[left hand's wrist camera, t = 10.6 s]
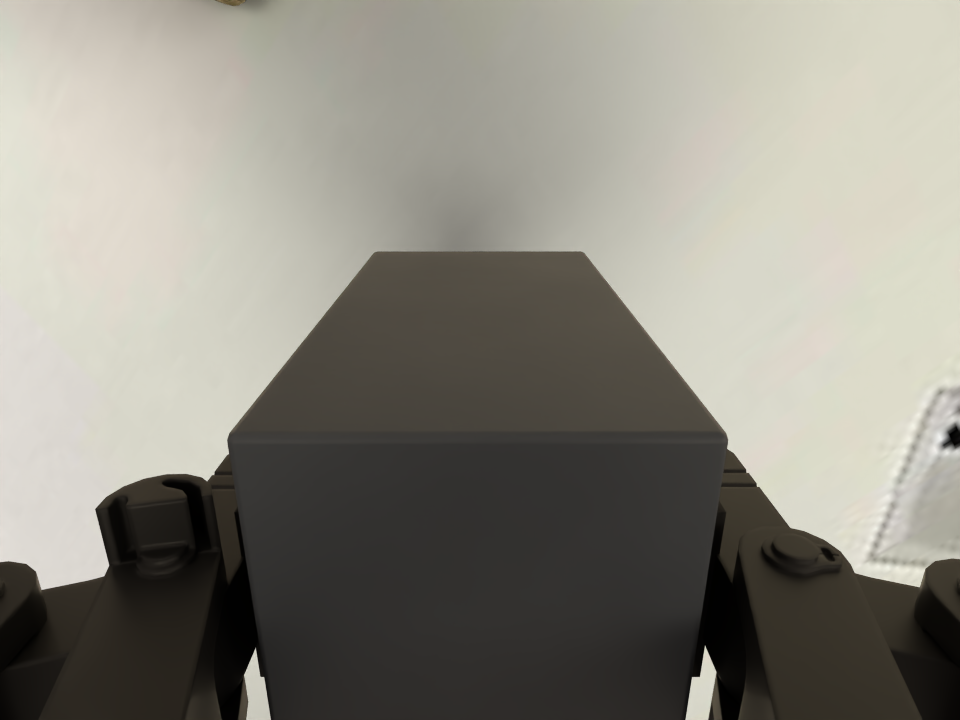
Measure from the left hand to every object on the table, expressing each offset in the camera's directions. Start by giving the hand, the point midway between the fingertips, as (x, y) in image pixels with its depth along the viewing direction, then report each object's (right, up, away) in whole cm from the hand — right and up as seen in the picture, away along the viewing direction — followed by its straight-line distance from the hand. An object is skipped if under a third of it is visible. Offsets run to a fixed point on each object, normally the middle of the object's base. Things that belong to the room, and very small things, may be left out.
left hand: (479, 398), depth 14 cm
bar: (0, -10, +5) cm, 11 cm away
